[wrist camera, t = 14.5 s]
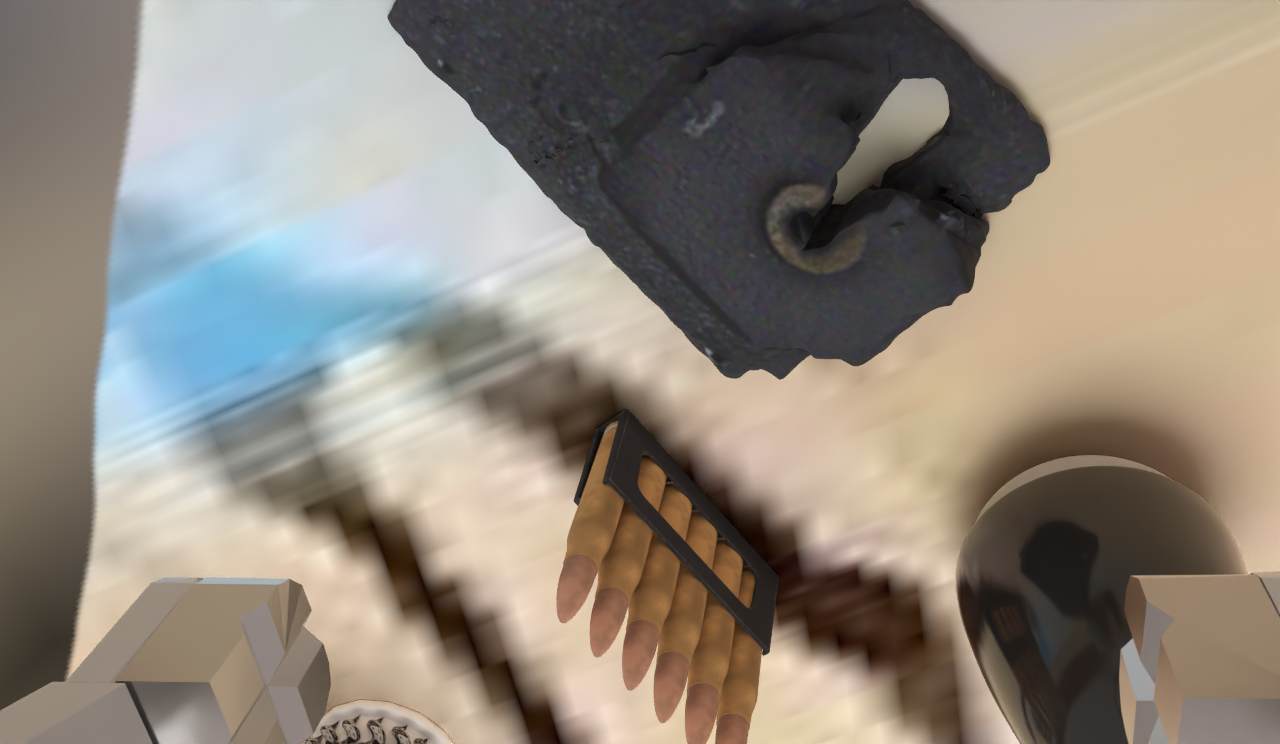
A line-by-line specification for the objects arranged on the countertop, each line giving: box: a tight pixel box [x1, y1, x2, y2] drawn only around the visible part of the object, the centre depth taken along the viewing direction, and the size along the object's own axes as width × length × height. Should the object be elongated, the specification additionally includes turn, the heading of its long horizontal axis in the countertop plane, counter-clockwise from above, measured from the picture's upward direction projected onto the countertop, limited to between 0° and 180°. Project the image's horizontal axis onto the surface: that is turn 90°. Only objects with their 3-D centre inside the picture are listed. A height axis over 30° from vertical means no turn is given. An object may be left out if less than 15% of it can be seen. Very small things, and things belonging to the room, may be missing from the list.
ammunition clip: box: [557, 410, 779, 744], centre depth 43 cm, size 11×2×12 cm, turn 40°
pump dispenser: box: [956, 455, 1248, 744], centre depth 39 cm, size 10×10×15 cm
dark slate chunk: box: [388, 0, 1050, 380], centre depth 38 cm, size 15×22×5 cm
